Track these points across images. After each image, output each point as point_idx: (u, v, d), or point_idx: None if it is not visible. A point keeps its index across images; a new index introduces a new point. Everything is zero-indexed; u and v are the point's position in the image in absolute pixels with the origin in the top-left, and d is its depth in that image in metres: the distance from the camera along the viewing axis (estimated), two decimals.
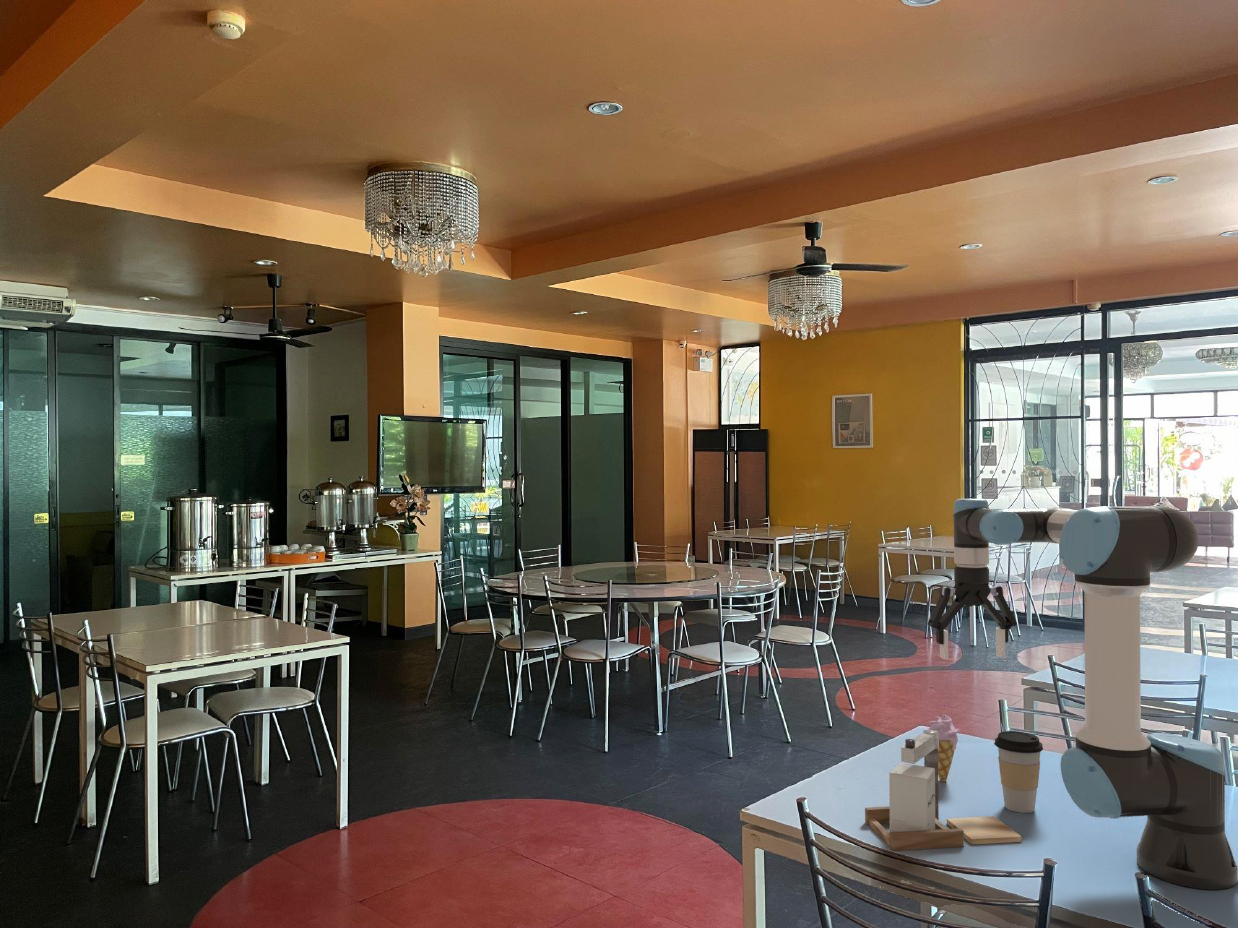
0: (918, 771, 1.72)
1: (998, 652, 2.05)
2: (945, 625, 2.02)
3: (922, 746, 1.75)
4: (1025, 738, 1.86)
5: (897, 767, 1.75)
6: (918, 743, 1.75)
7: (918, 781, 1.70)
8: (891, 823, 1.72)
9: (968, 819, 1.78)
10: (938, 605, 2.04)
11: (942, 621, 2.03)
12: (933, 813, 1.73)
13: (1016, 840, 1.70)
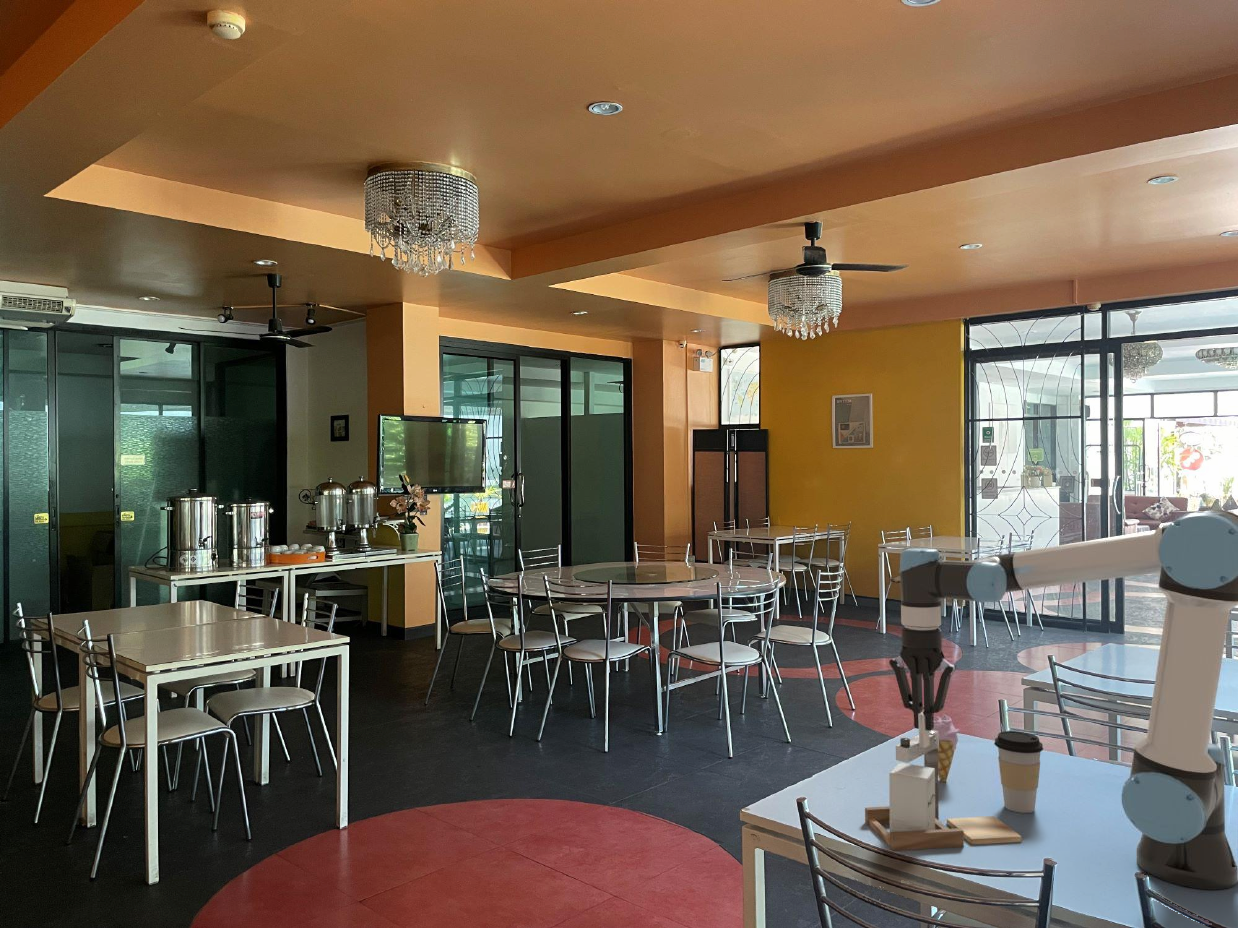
0: (918, 771, 1.72)
1: None
2: (916, 705, 1.75)
3: (918, 746, 1.75)
4: (1025, 738, 1.86)
5: (897, 767, 1.75)
6: (914, 742, 1.75)
7: (918, 781, 1.70)
8: (891, 823, 1.72)
9: (968, 819, 1.78)
10: None
11: None
12: (933, 813, 1.73)
13: (1016, 840, 1.70)
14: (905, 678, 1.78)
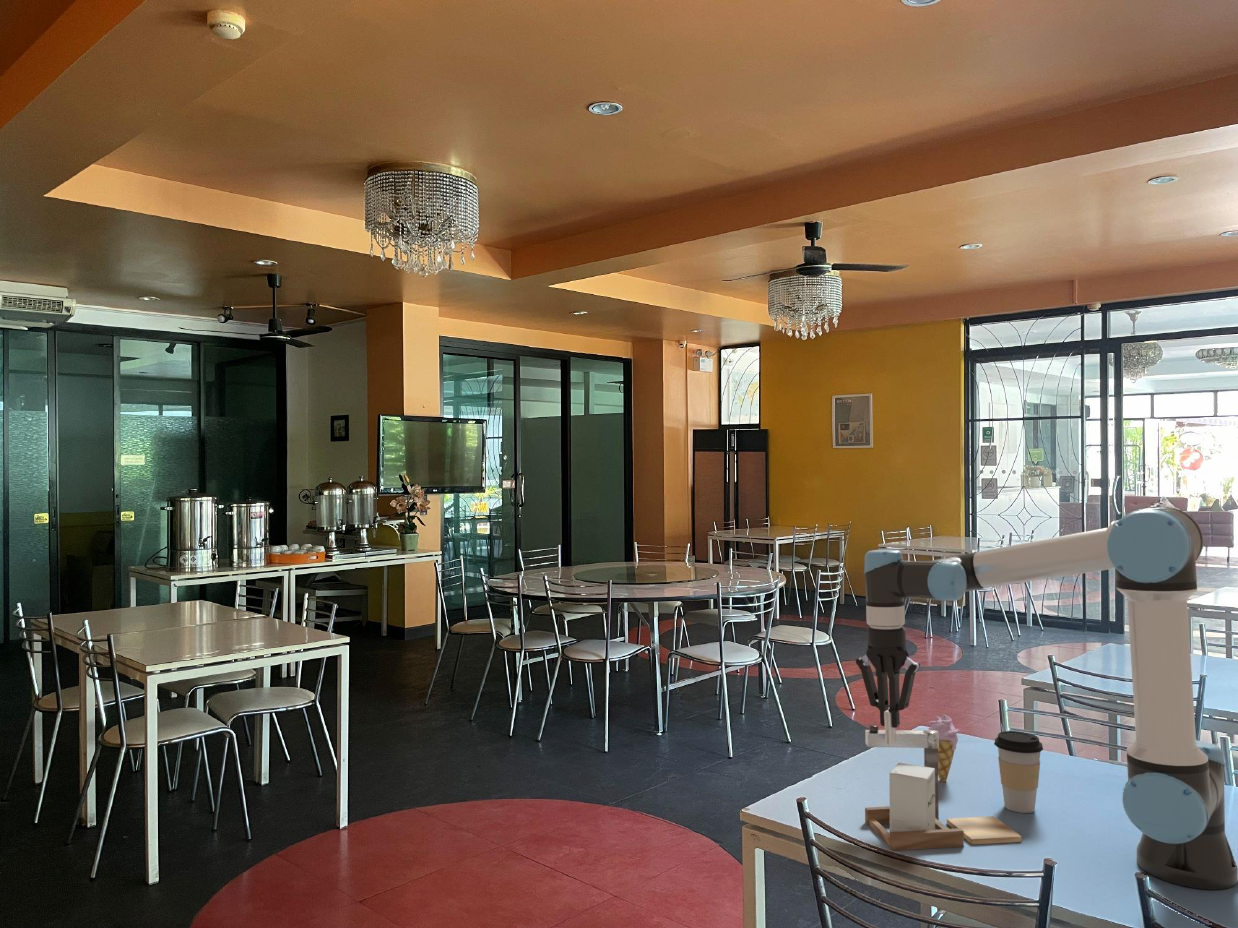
0: (918, 771, 1.72)
1: None
2: (882, 703, 1.80)
3: None
4: (1025, 738, 1.86)
5: (897, 767, 1.75)
6: None
7: (918, 781, 1.70)
8: (891, 823, 1.72)
9: (968, 819, 1.78)
10: None
11: None
12: (933, 813, 1.73)
13: (1016, 840, 1.70)
14: (871, 677, 1.83)
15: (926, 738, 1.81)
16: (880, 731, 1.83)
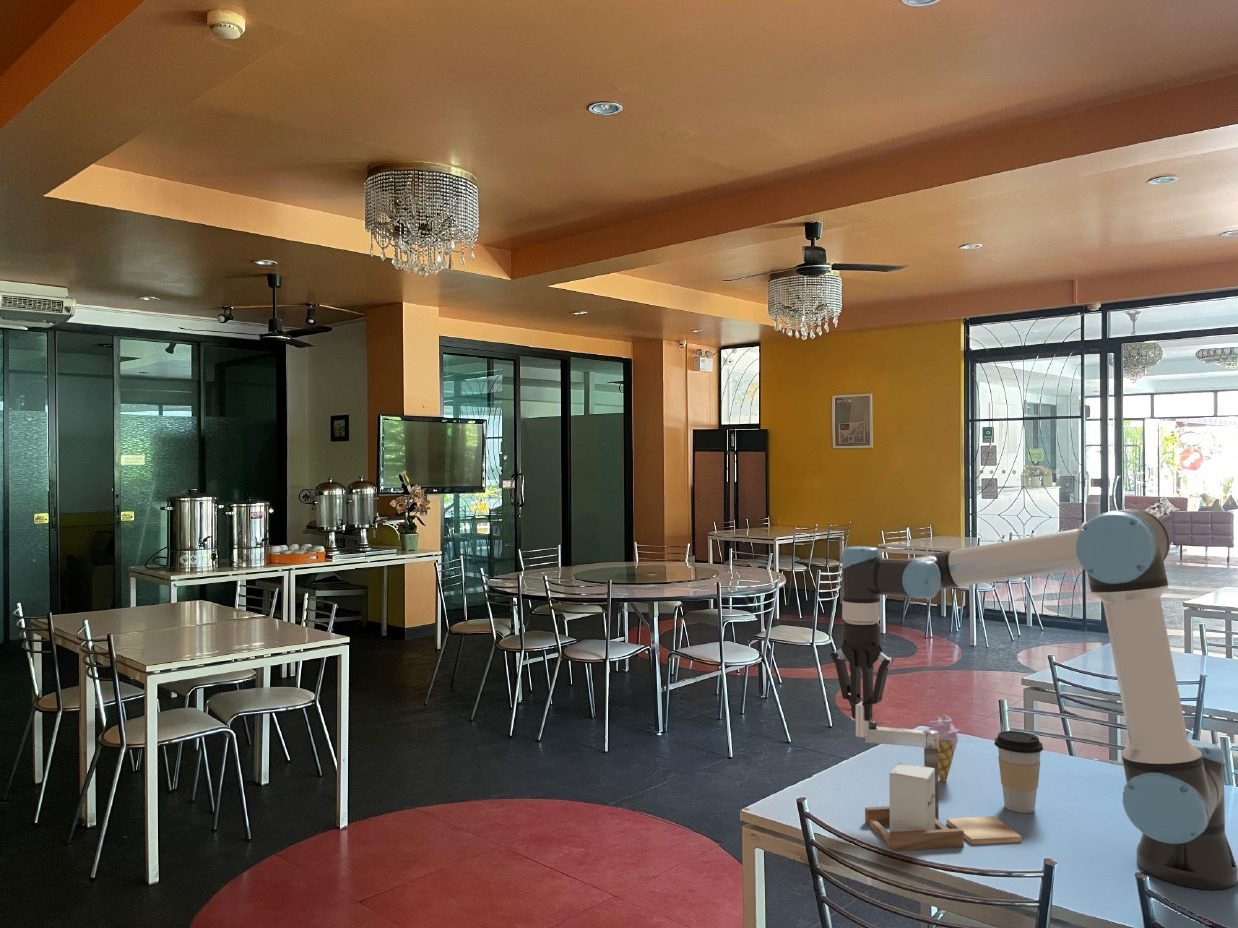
0: (918, 771, 1.72)
1: None
2: (854, 696, 1.83)
3: (887, 733, 1.83)
4: (1025, 738, 1.86)
5: (897, 767, 1.75)
6: (886, 729, 1.84)
7: (918, 781, 1.70)
8: (891, 823, 1.72)
9: (968, 819, 1.78)
10: None
11: None
12: (933, 813, 1.73)
13: (1016, 840, 1.70)
14: (845, 670, 1.86)
15: (924, 737, 1.81)
16: (879, 728, 1.85)
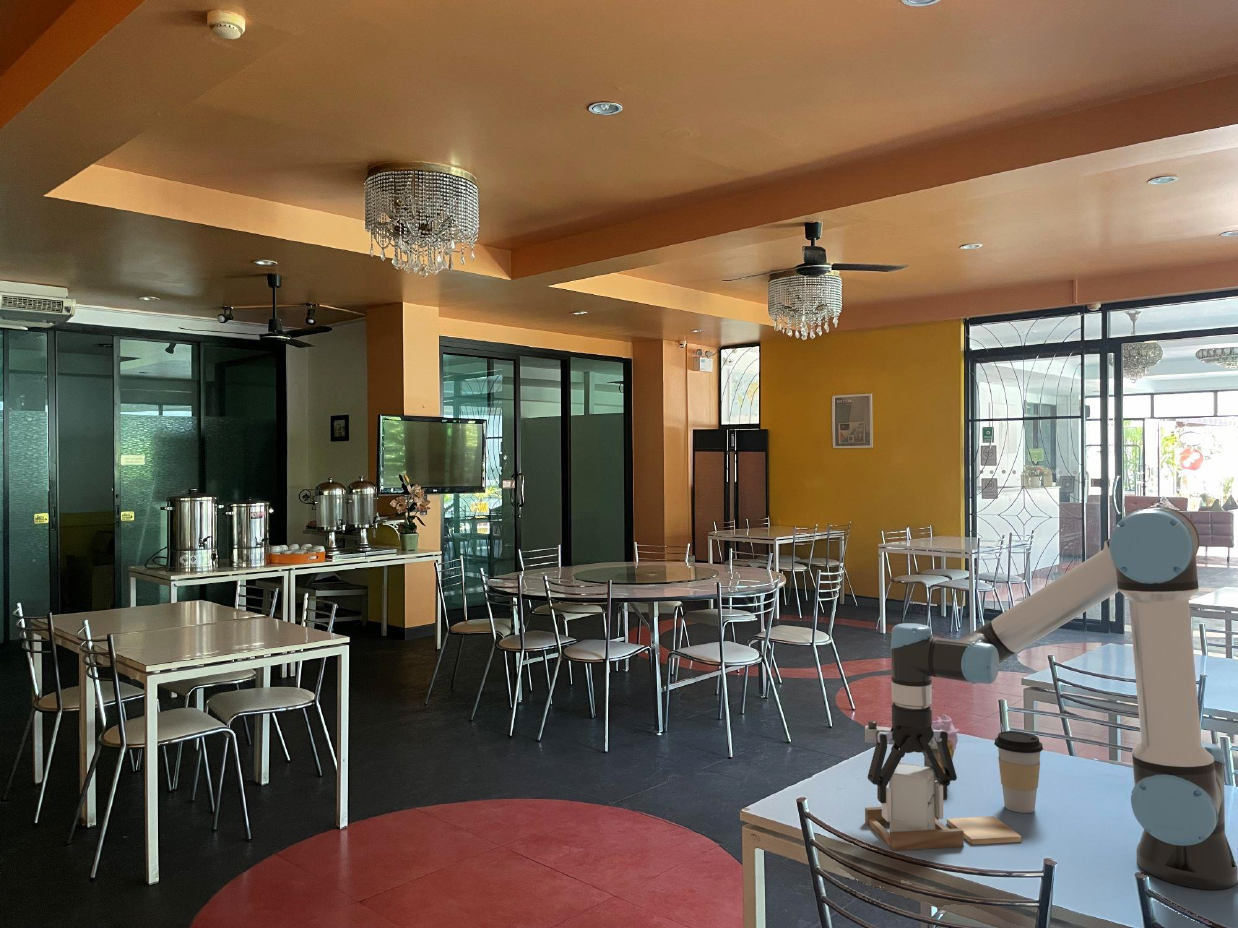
0: (918, 771, 1.72)
1: (935, 811, 1.74)
2: (887, 780, 1.72)
3: None
4: (1025, 738, 1.86)
5: (897, 766, 1.75)
6: (886, 729, 1.84)
7: (918, 781, 1.70)
8: (891, 823, 1.72)
9: (968, 819, 1.78)
10: (876, 755, 1.73)
11: (883, 775, 1.72)
12: (933, 813, 1.73)
13: (1016, 840, 1.70)
14: None
15: None
16: (879, 727, 1.85)
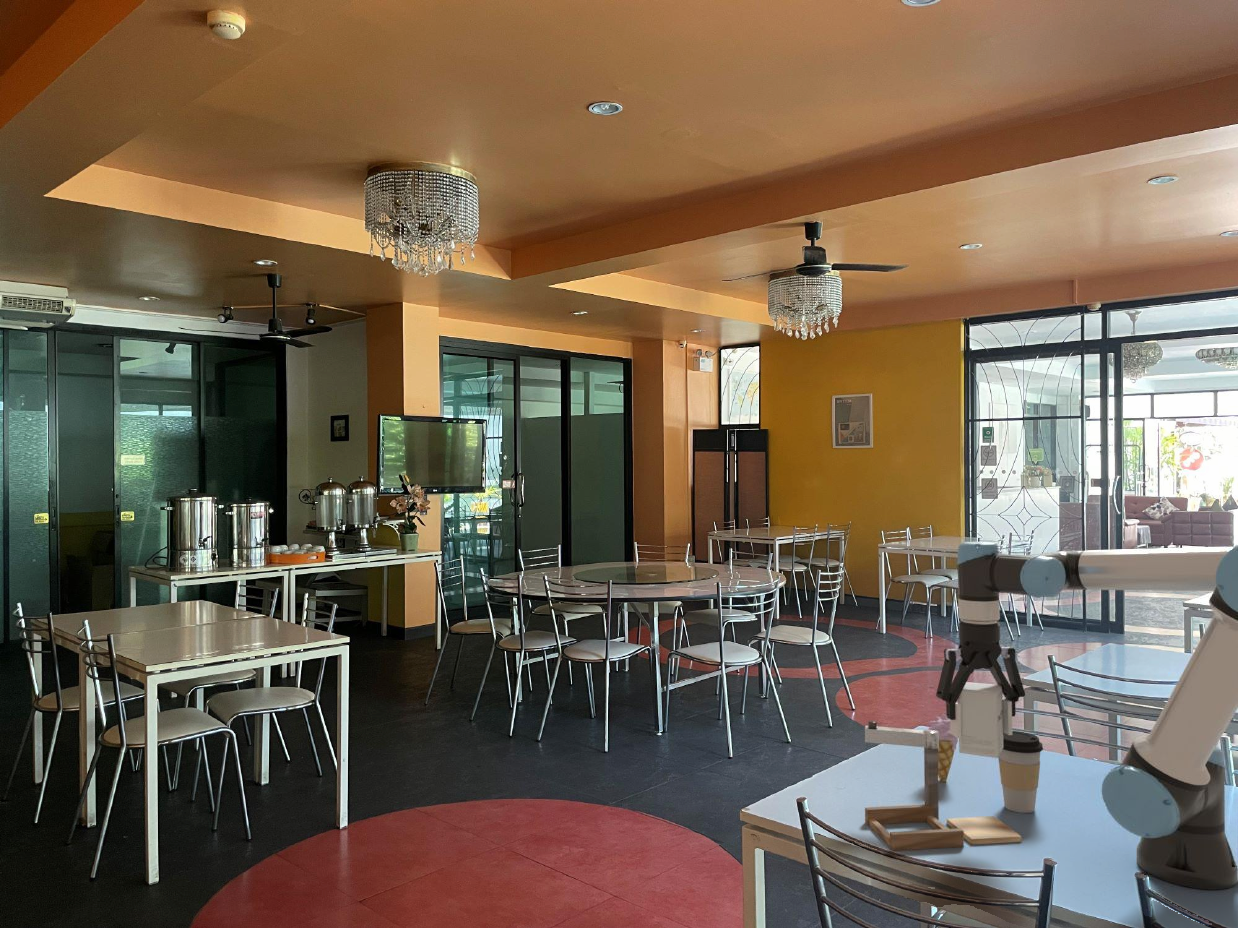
0: (987, 687, 1.73)
1: (1004, 728, 1.75)
2: (956, 696, 1.72)
3: (887, 733, 1.83)
4: (1025, 738, 1.86)
5: None
6: (886, 729, 1.84)
7: (988, 696, 1.70)
8: (961, 739, 1.72)
9: (968, 819, 1.78)
10: (944, 672, 1.73)
11: (952, 692, 1.73)
12: (1002, 729, 1.73)
13: (1016, 840, 1.70)
14: None
15: (924, 737, 1.81)
16: (879, 727, 1.85)
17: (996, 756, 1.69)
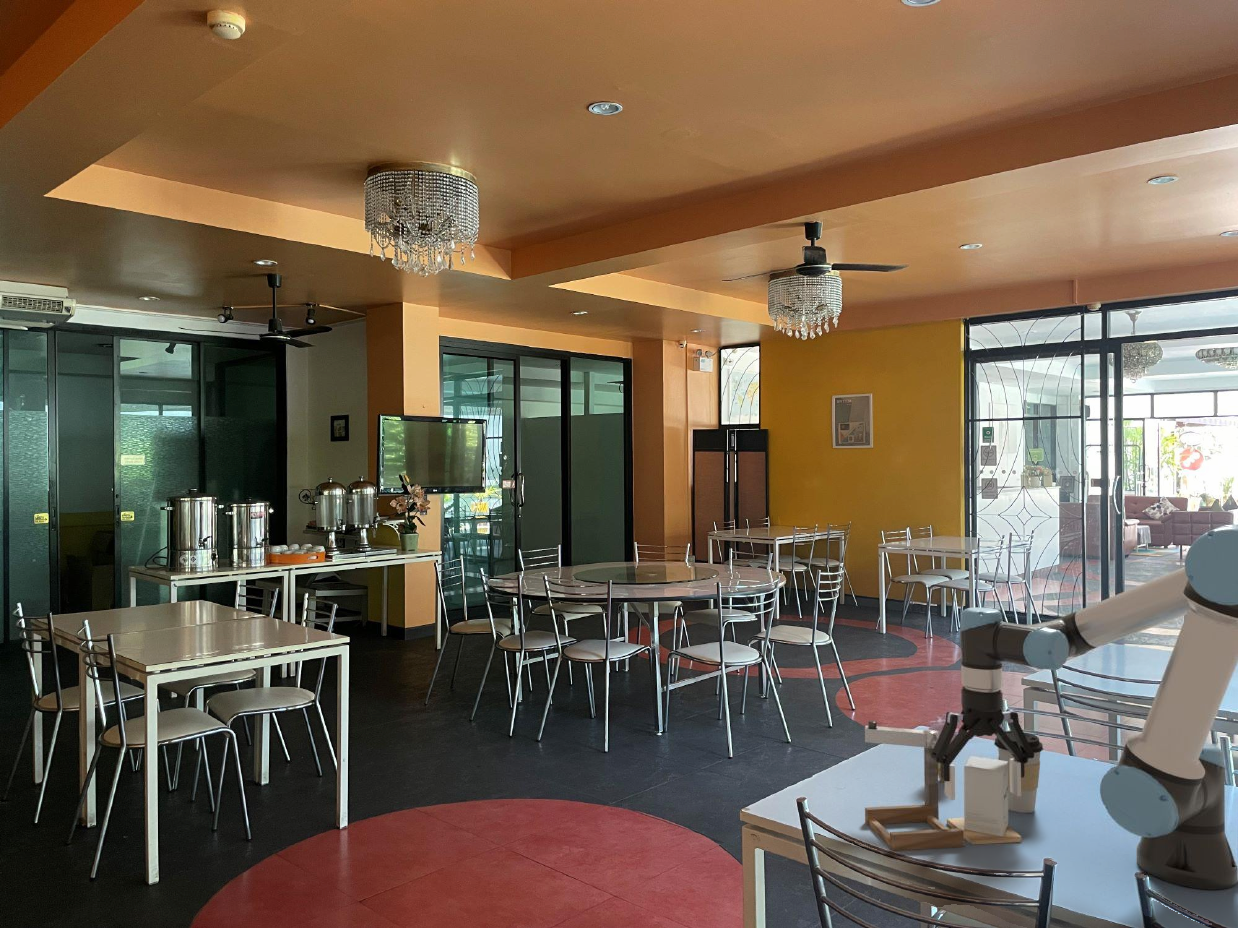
0: (993, 764, 1.73)
1: (1012, 789, 1.75)
2: (951, 759, 1.72)
3: (887, 733, 1.83)
4: None
5: (970, 760, 1.76)
6: (886, 729, 1.84)
7: (994, 774, 1.70)
8: (966, 816, 1.73)
9: None
10: (943, 734, 1.73)
11: (948, 754, 1.73)
12: (1007, 806, 1.74)
13: (1016, 840, 1.70)
14: None
15: (924, 737, 1.81)
16: (879, 727, 1.85)
17: (1001, 835, 1.69)
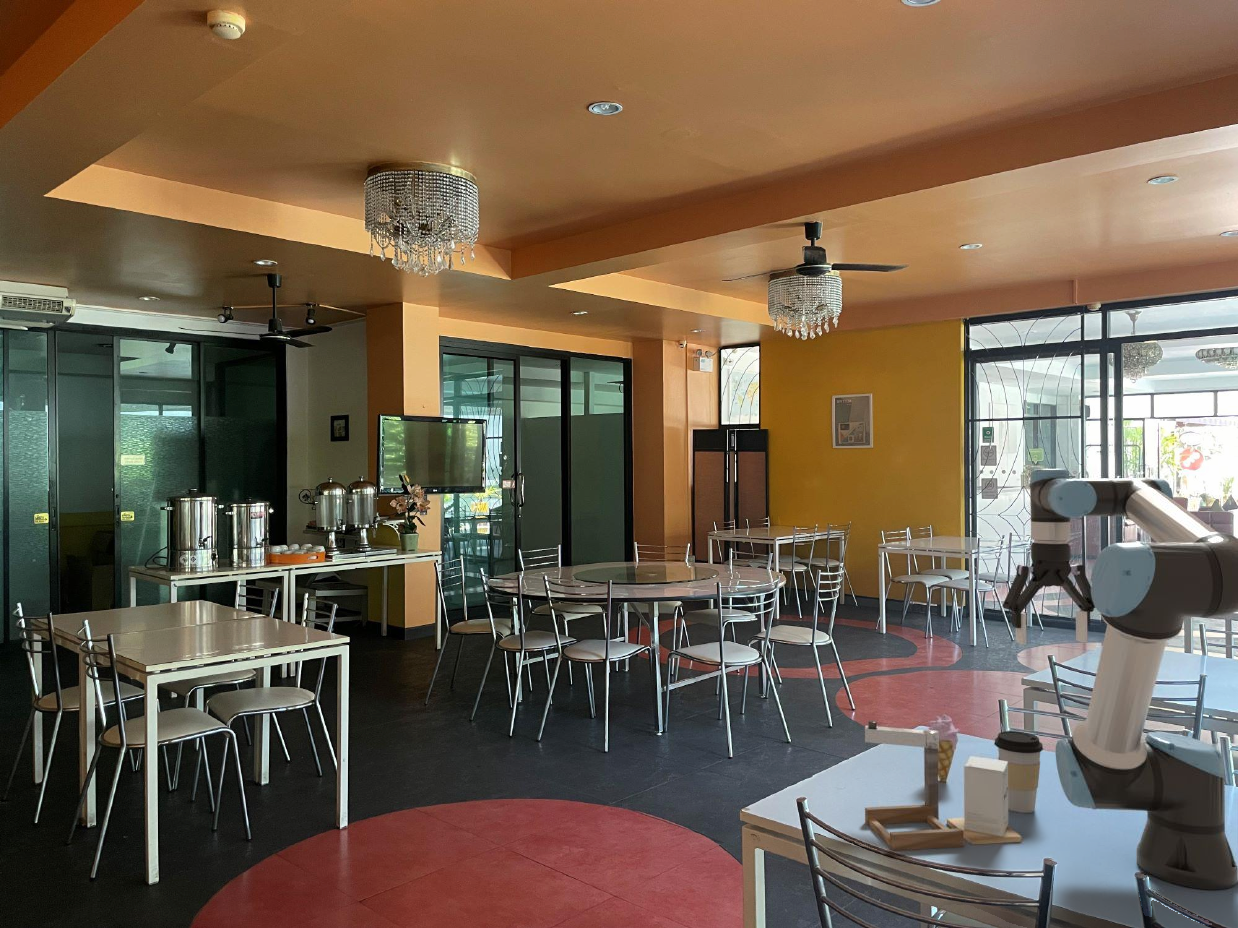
0: (993, 764, 1.73)
1: (1079, 637, 1.87)
2: (1023, 607, 1.85)
3: (887, 733, 1.83)
4: (1025, 738, 1.86)
5: (970, 760, 1.76)
6: (886, 729, 1.84)
7: (994, 774, 1.70)
8: (966, 816, 1.73)
9: None
10: (1015, 585, 1.86)
11: (1019, 603, 1.85)
12: (1007, 806, 1.74)
13: (1016, 840, 1.70)
14: None
15: (924, 737, 1.81)
16: (879, 727, 1.85)
17: (1001, 835, 1.69)
